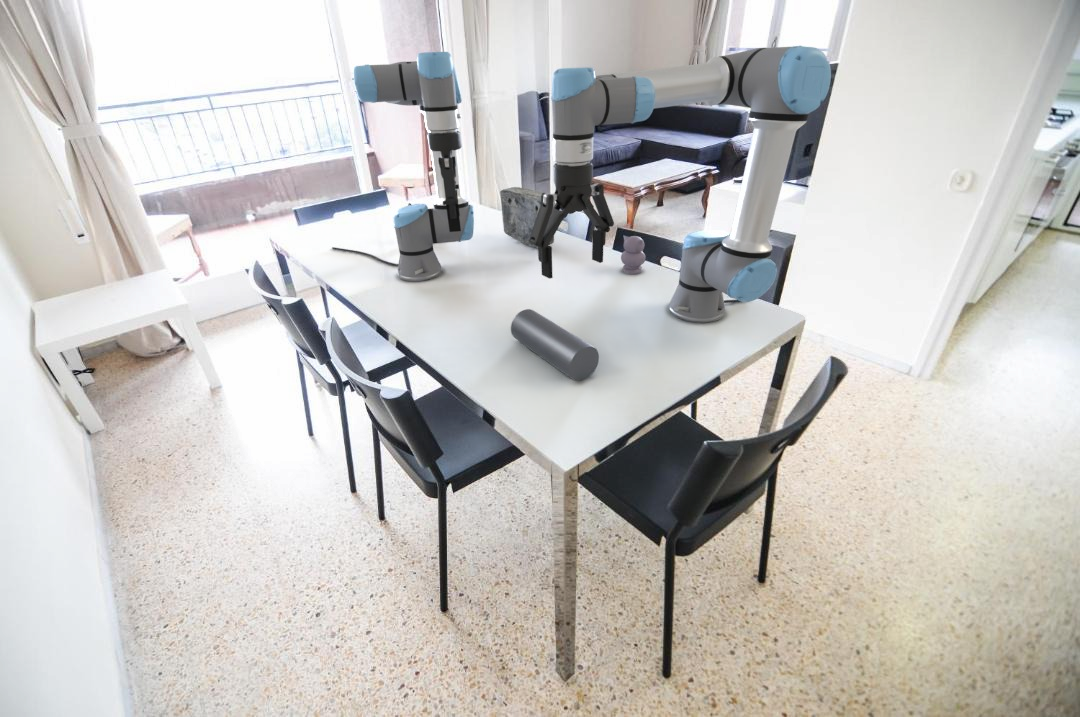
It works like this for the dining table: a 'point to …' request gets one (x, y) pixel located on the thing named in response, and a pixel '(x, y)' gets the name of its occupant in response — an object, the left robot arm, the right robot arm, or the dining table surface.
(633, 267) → the cat figurine
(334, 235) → the dining table surface
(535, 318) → the rod
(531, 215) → the concrete block
